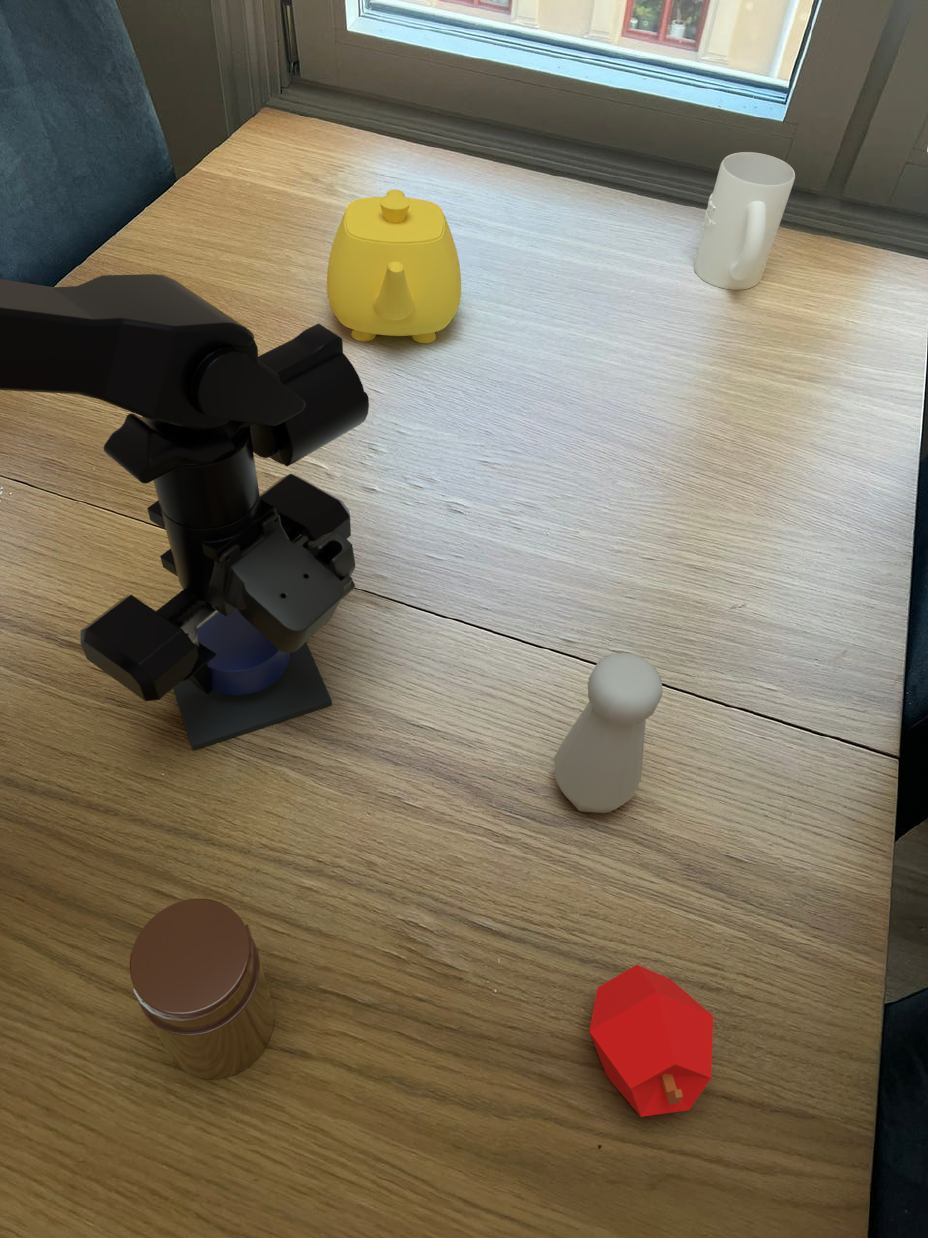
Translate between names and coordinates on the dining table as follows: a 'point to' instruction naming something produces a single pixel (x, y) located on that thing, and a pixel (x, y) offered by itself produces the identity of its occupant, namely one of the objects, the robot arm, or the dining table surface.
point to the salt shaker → (609, 735)
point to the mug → (743, 219)
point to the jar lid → (240, 655)
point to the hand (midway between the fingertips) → (241, 657)
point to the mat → (252, 703)
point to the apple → (652, 1041)
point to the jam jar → (203, 987)
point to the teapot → (394, 269)
